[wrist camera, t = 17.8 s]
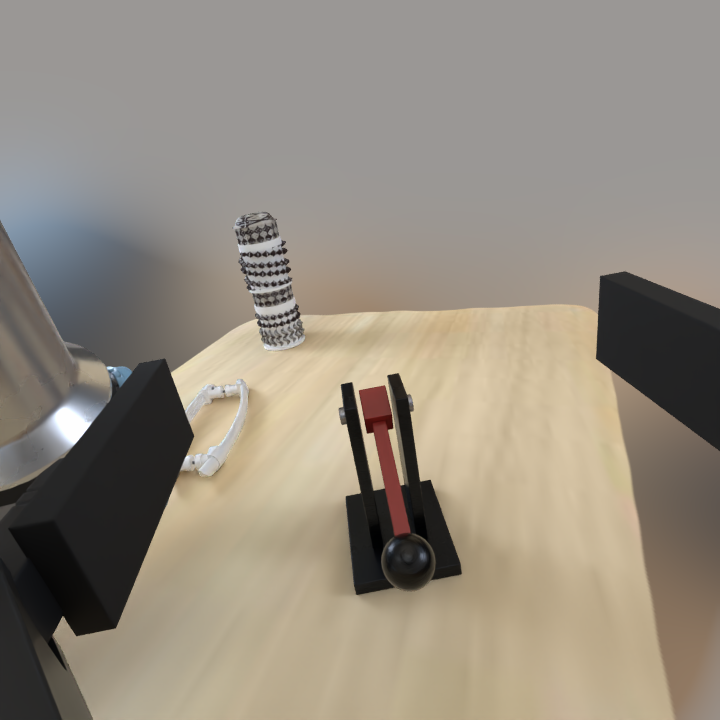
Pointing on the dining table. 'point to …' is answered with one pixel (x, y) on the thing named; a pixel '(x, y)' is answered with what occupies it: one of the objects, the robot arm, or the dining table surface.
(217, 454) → the door handle
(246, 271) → the decorative candle
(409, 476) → the bracket
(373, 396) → the lever
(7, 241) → the robot arm
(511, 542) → the dining table surface
